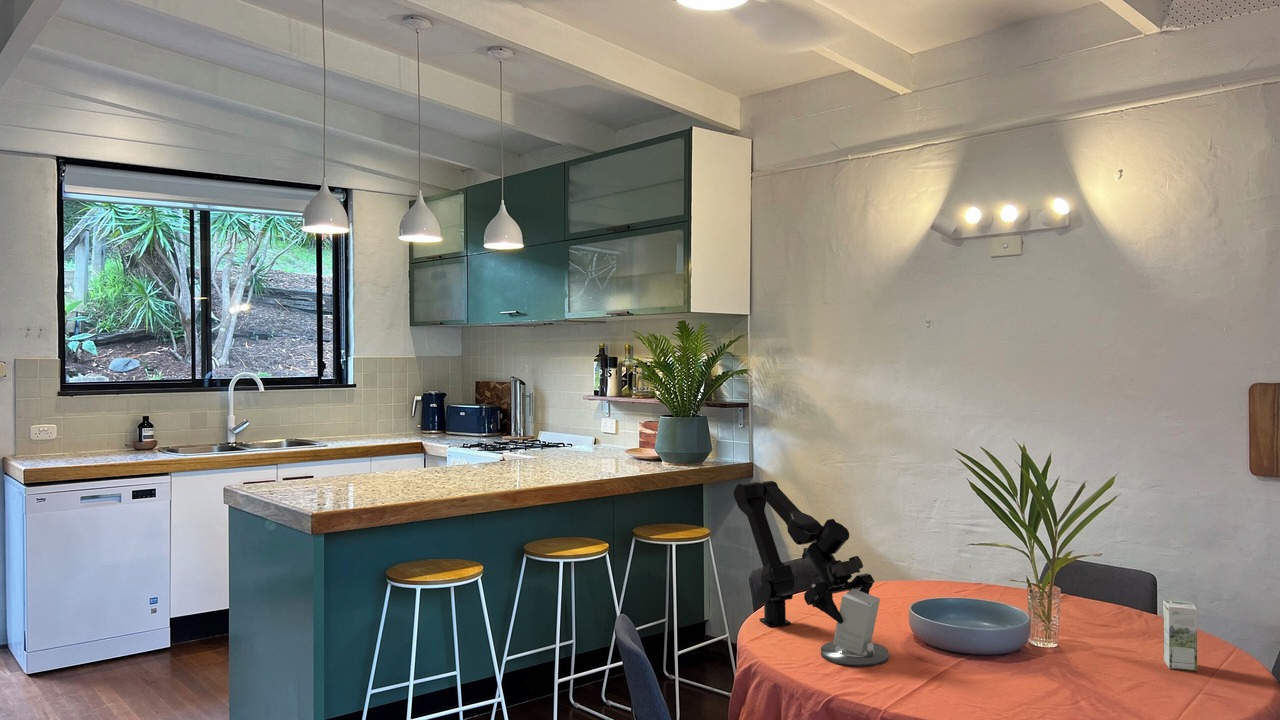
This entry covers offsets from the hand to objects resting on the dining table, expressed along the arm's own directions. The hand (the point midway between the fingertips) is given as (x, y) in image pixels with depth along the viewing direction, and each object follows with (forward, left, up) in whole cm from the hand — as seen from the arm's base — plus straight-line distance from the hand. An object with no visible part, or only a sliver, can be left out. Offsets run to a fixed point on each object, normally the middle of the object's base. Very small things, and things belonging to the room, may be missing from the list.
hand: (856, 619), depth 216 cm
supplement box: (-1, -1, -7) cm, 7 cm away
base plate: (-1, 0, -9) cm, 9 cm away
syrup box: (+33, +64, -9) cm, 72 cm away
